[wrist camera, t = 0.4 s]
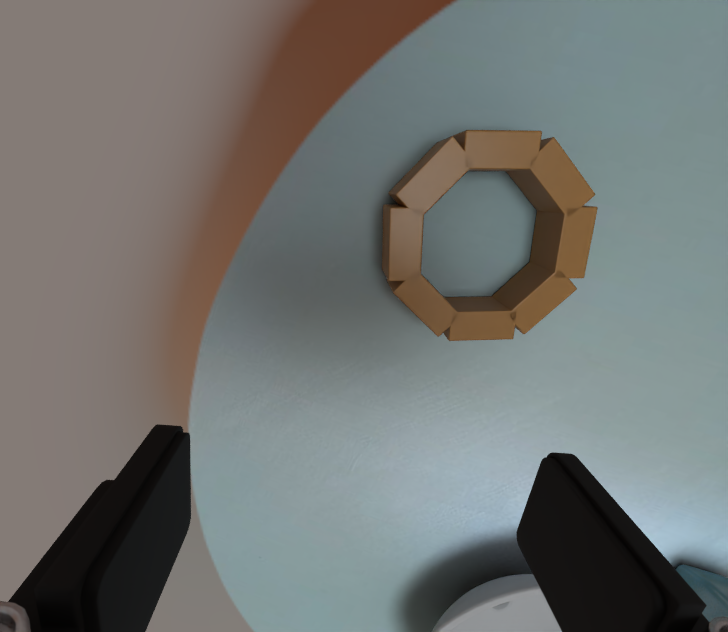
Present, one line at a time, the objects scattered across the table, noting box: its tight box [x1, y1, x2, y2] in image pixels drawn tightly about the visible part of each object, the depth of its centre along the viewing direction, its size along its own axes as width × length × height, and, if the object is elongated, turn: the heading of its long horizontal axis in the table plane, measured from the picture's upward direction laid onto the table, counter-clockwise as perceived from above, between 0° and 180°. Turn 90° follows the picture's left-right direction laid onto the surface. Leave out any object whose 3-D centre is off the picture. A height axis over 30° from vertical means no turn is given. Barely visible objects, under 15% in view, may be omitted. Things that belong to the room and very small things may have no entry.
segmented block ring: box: [382, 130, 597, 341], centre depth 22 cm, size 11×11×3 cm
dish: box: [432, 574, 562, 632], centre depth 32 cm, size 18×14×5 cm
